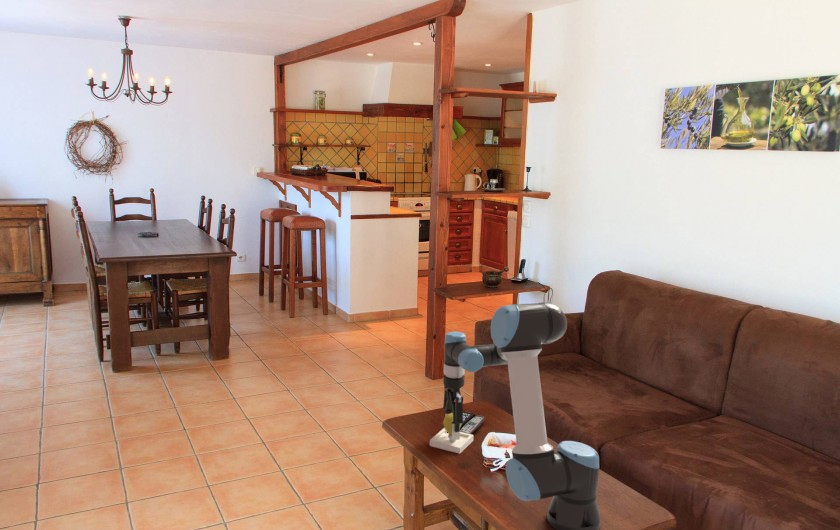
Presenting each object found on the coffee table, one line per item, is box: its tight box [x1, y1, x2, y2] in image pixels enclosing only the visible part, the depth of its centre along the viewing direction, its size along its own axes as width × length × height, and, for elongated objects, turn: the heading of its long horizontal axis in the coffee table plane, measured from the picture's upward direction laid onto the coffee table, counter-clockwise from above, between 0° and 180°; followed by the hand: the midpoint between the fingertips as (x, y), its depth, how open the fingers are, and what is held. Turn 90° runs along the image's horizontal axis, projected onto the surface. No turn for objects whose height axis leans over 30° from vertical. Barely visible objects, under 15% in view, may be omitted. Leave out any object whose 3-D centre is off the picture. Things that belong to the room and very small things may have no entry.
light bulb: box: [442, 413, 463, 442], centre depth 232 cm, size 7×7×10 cm
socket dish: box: [429, 427, 474, 454], centre depth 233 cm, size 12×12×2 cm
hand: (452, 434), depth 232 cm, fingers closed on light bulb, 7 cm apart
